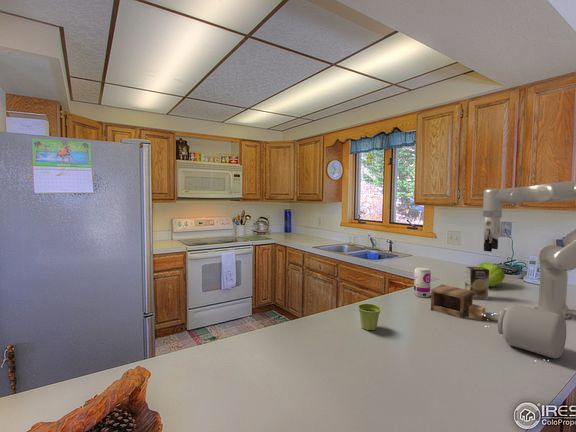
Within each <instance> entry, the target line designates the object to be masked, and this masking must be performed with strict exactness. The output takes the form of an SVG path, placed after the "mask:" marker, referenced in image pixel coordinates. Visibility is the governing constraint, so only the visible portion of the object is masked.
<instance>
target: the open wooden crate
mask: <svg viewBox="0 0 576 432" xmlns="http://www.w3.org/2000/svg"><path fill="white" fill-rule="evenodd" d="M430 298H431V299H430V311H434V312H437V313H441V314H445V315H448V316H451V317H456V318H459V319H464V318H465V312H468V313H469V306H471V305H472V304H473V300H474V299H473V291H471V290H466V289H465V288H460V287H455V286H450V285H446V284H440V285H438V286H436V287H434V288H430ZM444 306H445V307H444Z"/></svg>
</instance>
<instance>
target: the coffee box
mask: <svg viewBox="0 0 576 432" xmlns="http://www.w3.org/2000/svg"><path fill="white" fill-rule="evenodd" d="M464 278H465V281H464V289H466V290H471V291H473V300H484V301H485V300H486V301H487V300H488V297H489V287H488V283H489V270H488V269H486V268H483V267H476V266H465V277H464Z"/></svg>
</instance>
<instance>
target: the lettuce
mask: <svg viewBox="0 0 576 432" xmlns="http://www.w3.org/2000/svg"><path fill="white" fill-rule="evenodd" d="M475 267H483V268H486V269H488V270H489V283H488V288H489V287H496V286H498V285H499V284H501V283H502V282H503V281H504V280H505V278H506V275H505V271H504V270H503V268H501V267H500V266H499V265H497V264H495V263H491V262H482V263H479V264H478V265H477V266H475Z"/></svg>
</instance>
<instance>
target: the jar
mask: <svg viewBox="0 0 576 432" xmlns="http://www.w3.org/2000/svg"><path fill="white" fill-rule="evenodd" d="M534 308H535V307H529V306H524V305H519V304H511V305H509V307H507V308H506V309H501V310H500V312H499V315H498V319H497V320H498V322H497V331H498V334H499V335H502V337H503V339H504V341H505V342H506V344H508V345H509V346H512V347H515V348H518V349H520V350H524V351H528V352H531V353H534V354H537V355H541V356H543V357H547V358H550V359H551V358H552V359H558V358H560V357H561V356H562V355H563V353H564V351H565V350H564V349H565V347H566V346H565V345H566V340H567V321H566V319H564V318H563V317H562V316H561V315H560V314H557V313H552V312H548V311H543V310H539V309H534ZM482 315H483V314H482ZM493 315H496V313H495V312H494V314H493V313H492V314H491V316H493ZM484 316H485V317H486V314H485V315H484ZM486 320H487V321H489V320H488V319H486ZM484 327H485V328H487V327H490V326H489V325H488V326H487V325H485V326H484ZM550 359H548V360H547V362H549V360H550ZM543 361H546V360H545V359H543ZM534 362H537V360H534Z"/></svg>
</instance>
